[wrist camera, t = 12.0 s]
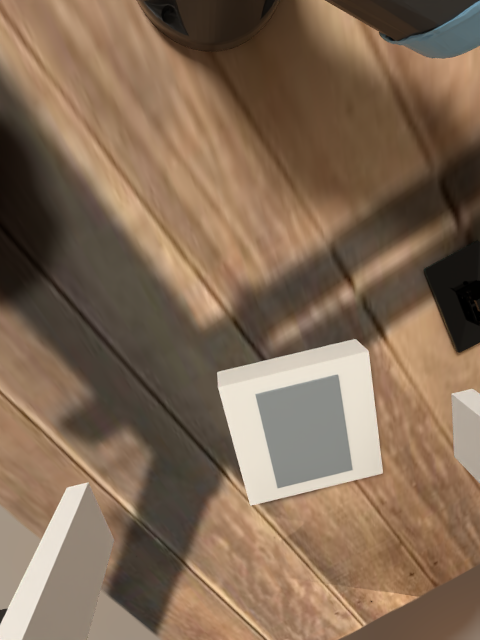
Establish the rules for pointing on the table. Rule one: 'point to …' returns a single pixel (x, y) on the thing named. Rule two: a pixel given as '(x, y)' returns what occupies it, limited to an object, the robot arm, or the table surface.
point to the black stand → (458, 294)
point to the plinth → (303, 420)
